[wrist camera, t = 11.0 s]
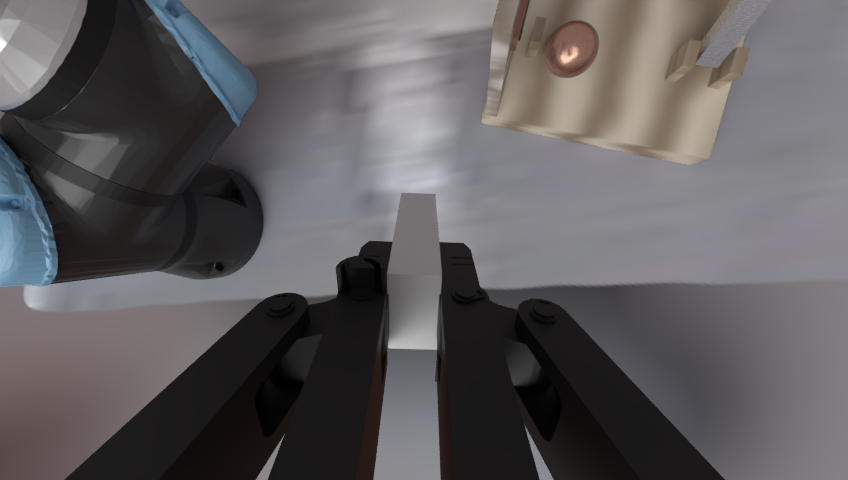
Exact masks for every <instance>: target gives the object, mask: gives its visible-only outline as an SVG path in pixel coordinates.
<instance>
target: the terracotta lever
mask: <svg viewBox="0 0 848 480" xmlns="http://www.w3.org/2000/svg"><path fill="white" fill-rule="evenodd" d="M598 51H599V36H598V33H597V31H596V30H595V28H594V27H593V26H592V25H591V24H589V23H588V22H585V21H581V20H573V21H569V22H566V23H564V24H562V25H561V26H559V27H558V28H557V29H556V30H555V31H554V32H553V33H552V34H550V35H547V38H546V41H545V45H544V48H543V52H542V55H541V56H542V57H544V59H545V63H546V66H547V68H548V69H549V71H550V72H551V73H552V74H554V75H555V76H557V77H560V78H573V77H576V76H578V75H580V74H582V73H584V72H585V71H586V70H587V69H588V68H589V67H590V66H591V65H592V64H593V62H594V61H595V59H596V57H597V54H598Z"/></svg>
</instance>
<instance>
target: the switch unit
mask: <svg viewBox="0 0 848 480" xmlns="http://www.w3.org/2000/svg"><path fill="white" fill-rule="evenodd" d="M730 1H731V0H499V3H498V7H497V10H496V14H495V18H494V23H493V35H492V47H491V59H490V71H489V84H488V94H487V98H486V102H485V106H484V110H483V113H482V123H483V124H488V125H493V126H498V127H503V128H508V129H513V130H518V131H523V132H528V133H533V134H538V135H543V136H548V137H553V138H558V139H562V140H567V141H572V142H577V143H582V144H587V145H592V146H597V147H602V148H607V149H612V150H617V151H622V152H627V153H632V154H637V155H642V156H647V157H652V158H657V159H662V160H667V161H672V162H677V163H682V164H687V165H692V164H695V163H698V162H701V161H704V160H707V159H709V158H710V155H711V151H712V148H713V145H714V141H715V138H716V134H717V131H718V127H719V124H720V121H721V117H722V114H723V110H724V107H725V103H726V100H727V97H728V93H729V90H730V86H731V83H732V81H733V80H734V79H736V78H738V77H739V76H741V75H742V73H743V70H744V66H745V63H746V59H747V56H748V53H749V49H750V48H744V47H742V45H743V42H744V38H745V35H746V34H745V35H744V36H743V38H742V39H741V40H740V41H739V42H738V44H737V45H736V46H735V47H734V49H733V50H732V51H731V52H730V53H729V55H728V56H727V57H726V58H725V60H724V61H723V62H722V63H721V65H720V66H719V67H718V68H713V67H707V66H700V65H695V63H696V59H697V56H698V52H699V49H700V45H701V42H702V40H703V39H704V38H705V36H706V35H707V33H708V32H709V31H710V29H711V28H712V26H713V25H714V24H715V22H716V21H717V19H718V18H719V17H720V15H721V14H722V13H723V11H724V10H725V8H726V7H727V6H728V4H729V3H730ZM573 20H581V21H585V22H588V23H589V24H591V25H592V26H593V27H594V28H595V30H596V31H597V33H598V36H599V51H598V54H597V57H596V59H595V61H594V62H593V64H592V65H591V66H590V67H589V68H588V69H587V70H586V71H585V72H584V73H582V74H580V75H578V76H576V77H573V78H560V77H557V76H555V75H554V74H552V73H551V72H550V71H549V69H548V68H547V66H546V63H545V59H544V57H542V56H541V55H542V52H543V48H544V45H545V41H546V38H547V35H550V34H552V33H553V32H554V31H555V30H556V29H557V28H558V27H559V26H561V25H562V24H564V23H566V22H569V21H573Z"/></svg>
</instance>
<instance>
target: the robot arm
mask: <svg viewBox="0 0 848 480" xmlns="http://www.w3.org/2000/svg"><path fill="white" fill-rule="evenodd" d="M257 92H258V90H257V83H256V80H255V78H254V76H253V74H252V73H251V72H250V71H249V70H248V69H247V68H246V67H245V66H244V65H243V64H242V63H241V62H240V61H239V60H238V59H237V58H236V57H235V56H234V55H233V54H232V53H231V52H230V51H229V50H228V49H227V48H226V47H225V46H224V45H223V44H222V43H221V42H220V41H219V40H218V39H217V38H216V37H215V36H214V35H213V34H212V33H211V32H210V31H209V30H208V29H207V28H206V27H205V26H204V25H203V24H202V23H201V22H200V21H199V20H198V19H197V18H196V17H195V16H194V15H193V14H192V13H191V12H190V11H189V10H188V9H187V8H186V7H185V6H184V5H183V4H182V3H181V2H180V1H179V0H0V111H2V112H5V114H4V115H3V117H2V118H1V119H0V287H4V286H18V285H33V286H45V285H49V284H55V283H63V282H71V281H79V280H87V279H95V278H103V277H111V276H119V275H128V274H136V273H144V272H152V271H160V272H165V273H169V274H173V275H178V276H182V277H186V278H191V279H211V278H218V277H223V276H227V275H230V274H232V273H234V272H236V271H237V270H239V269H240V268H242V267H243V266H244V265H245V264H246V263H247V262H248V261H249V260H250V258H251V257H252V256H253V254H254V252H255V251H256V249H257V246H258V244H259V241H260V238H261V233H262V224H263V220H262V210H261V206H260V203H259V200H258V197H257V195H256V193H255V191H254V190H253V188H252V187H251V185H250V184H249V183H248V182H247V181H246V180H245V179H244V178H243V177H242V176H241V175H239V174H238V173H236V172H235V171H233V170H230V169H228V168H225V167H221V166H217V165H214V164H209V163H207V162H208V161H209V160H210V158H211V157H212V156H213V154H214V153H215V152H216V151H217V149H218V148H219V147H220V146H221V144H222V143H223V142H224V140H225V139H226V138H227V137H228V135H229V134H230V133H231V131H232V130H233V129H234V128H235V126H236V127H239V126H240V124H241V119H242V117H243V116H244V114H245V113H246V112H247V110H248V109H249V107H250V106H251V104H252V103H253V102H254V100H255V98H256V96H257ZM336 274H337V284H338V295H337V297H336V298H335V299H332V300H330V301H326V302H322V303H317V304H311V305H308V303H307V300H306V299H305V298H304V297H303V296H302V295H299V294H296V293H282V294H276V295H274V296H271V297H268V298H266V299H265V300H263V301H262V302H260V303H259V304H258V305H257V306H255V307H254V308H253V309H252V310H251V311H250V312H249V313H248V314H247V315H245V316H244V317H243V318H242V319H241V320H240V321H239V322H238V323H237V324H236V325H234V326H233V327H232V328H231V329H230V330H229V331H228V332H227V333H226V334H225V335H223V336H222V337H221V338H220V339H219V340H218V341H217V342H216V343H215V344H214V345H212V346H211V347H210V348H209V349H208V350H207V351H206V352H205V353H204V354H203V355H201V356H200V357H199V358H198V359H197V360H196V361H195V362H194V363H193V364H191V365H190V366H189V367H188V368H187V369H186V370H185V371H184V372H183V373H182V374H180V375H179V376H178V377H177V378H176V379H175V380H174V381H173V382H172V383H171V384H169V385H168V386H167V387H166V388H165V389H164V390H163V391H162V392H161V393H159V395H157V396H156V397H155V398H154V399H153V400H152V401H151V402H150V403H148V404H147V405H146V406H145V407H144V408H143V409H142V410H141V411H140V412H139V413H137V414H136V416H134V417H133V418H132V419H131V420H130V421H129V422H128V423H126V424H125V425H124V426H123V427H122V428H121V429H120V430H119V431H118V432H117V433H116V434H114V435H113V436H112V437H111V438H110V439H109V440H108V441H107V442H106V443H104V444H103V445H102V446H101V447H100V448H99V449H98V450H97V451H96V452H95V453H93V454H92V455H91V456H90V457H89V458H88V459H87V460H86V461H85V462H83V463H82V464H81V465H80V466H79V467H78V468H77V469H76V470H75V471H74V472H72V473H71V474H70V475H69V476H68V477H67V478H66V479H65V480H256V478H257V477H258V475H259V473H260V471H261V470H262V469H263V467H264V466H265V464H266V462H267V461H268V459H269V457H270V456H271V454H272V453H273V451H274V450H275V448H276V446H277V445H278V443H279V442H280V440H281V439H282V437H283V436H284V438H283V440H282V443H281V446H280V448H279V451H278V454H277V456H276V459H275V462H274V464H273V467H272V470H271V472H270V475H269V478H268V480H373V478H374V469H375V461H376V453H377V445H378V436H379V428H380V419H381V412H382V403H383V395H384V387H385V379H386V370H387V347H388V348H395V349H396V348H397V349H434V350H436V349H437V361H436V376H435V381H437V393H438V418H439V446H440V472H441V480H539V476H538V472H537V469H536V465H535V462H534V458H533V454H532V451H531V447H530V444H529V440H528V437H527V433H526V429H525V426H526V428H527V430H528V432H529V434H530V435H531V437H532V439H533V441H534V443H535V445H536V447H537V449H538V450H539V452H540V454H541V456H542V458H543V460H544V462H545V464H546V465H547V467H548V469H549V471H550V473H551V475H552V477H553V479H554V480H725V479H724V478H723V477H722V476H721V475H720V474H719V473H718V472H717V471H716V470H715V469H714V468H713V467H712V466H711V465H710V464H709V462H707V460H706V459H705V458H704V457H703V456H702V455H701V454H700V453H699V452H698V451H697V450H696V449H695V448H694V447H693V445H692V444H691V443H690V442H689V441H688V440H687V439H686V438H685V437H684V436H683V435H682V434H681V433H680V432H679V431H678V430H677V429H676V427H675V426H674V425H673V424H672V423H671V422H670V421H669V420H668V419H667V418H666V417H665V416H664V415H663V414H662V413H661V411H660V410H659V409H658V408H657V407H656V406H655V405H654V404H653V403H652V402H651V401H650V400H649V399H648V398H647V397H646V396H645V395H644V393H643V392H642V391H641V390H640V389H639V388H638V387H637V386H636V385H635V384H634V383H633V382H632V381H631V380H630V379H629V378H628V377H627V376H626V374H625V373H624V372H623V371H622V370H621V369H620V368H619V367H618V366H617V365H616V364H615V363H614V362H613V361H612V360H611V358H610V357H609V356H608V355H607V354H606V353H605V352H604V351H603V350H602V349H601V348H600V347H599V346H598V345H597V344H596V343H595V342H594V340H593V339H592V338H591V337H590V336H589V335H588V334H587V333H586V332H585V331H584V330H583V329H582V328H581V327H580V326H579V325H578V323H577V322H576V321H575V320H574V319H573V318H572V317H571V316H570V315H569V314H568V313H567V312H566V311H565V310H564V309H562V308H561V307H560V306H559V305H556V304H555V303H552V302H550V301H546V300H542V299H529V300H525V301H523V302H522V303H521V304H520V305H519V307H518V310H517V309H512V308H508V307H504V306H501V305H498V304H496V303H494V302H492V301H490V300H489V296H488V295H487V293H486V291H485V290H483V289H482V288H481V287H480V285H479V281H478V277H477V273H476V269H475V266H474V261H473V257H472V254H471V250H470V249H469V248H468V247H467V246H466V245H465V244H464V243H445V242H439V234H438V222H437V211H436V199H435V194H416V193H401V199H400V204H399V210H398V215H397V221H396V226H395V232H394V237H393V242H383V241H369V242H367V243H366V244H365V245H364V246H363V247H361V250H360V253H359V256H354V257H350V258H346V259H345V260H343V261H341V262H340V263H339V264H338V265H337V266H336ZM524 424H525V426H524ZM284 434H285V435H284Z"/></svg>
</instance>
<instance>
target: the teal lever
mask: <svg viewBox="0 0 848 480" xmlns="http://www.w3.org/2000/svg"><path fill="white" fill-rule="evenodd" d="M772 1H773V0H731V1H730V3H729V4H728V6H727V7H726V8H725V10H724V11H723V13H722V14H721V15H720V17H719V18H718V19H717V21H716V22H715V24H714V25H713V26H712V28H711V29H710V31H709V32H708V33H707V35H706V36H705V38H704V39H703V40H702V42H701V45H700V49H699V52H698V56H697V59H696V63H695V65H700V66H707V67H713V68H718V67H719V66H720V65H721V63H722V62H723V61H724V60H725V58H726V57H727V56H728V55H729V53H730V52H731V51H732V50H733V49H734V47H735V46H736V45H737V44H738V42H739V41H740V40H741V39H742V38H743V36H744V35H745V34H746V33H747V31H748V30H749V29H750V28H751V27H752V25H753V24H754V23H755V22H756V20H757V19H758V18H759V17H760V16H761V14H762V13H763V12H764V11H765V9H766V8H767V7H768V6H769V4H770V3H771V2H772Z"/></svg>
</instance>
